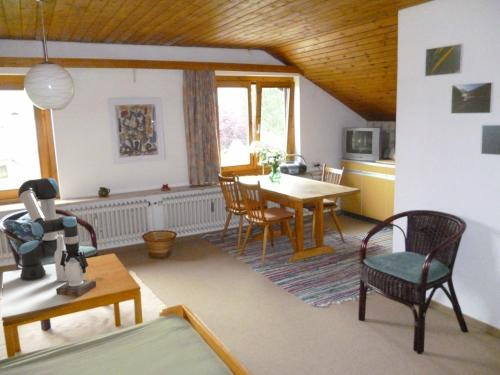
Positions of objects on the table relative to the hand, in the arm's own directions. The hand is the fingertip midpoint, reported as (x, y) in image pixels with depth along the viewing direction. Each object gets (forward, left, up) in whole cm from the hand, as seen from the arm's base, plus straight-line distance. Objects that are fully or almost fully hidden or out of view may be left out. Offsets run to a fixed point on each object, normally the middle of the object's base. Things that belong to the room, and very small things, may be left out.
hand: (75, 277), depth 262 cm
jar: (0, 0, -5) cm, 5 cm away
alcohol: (-20, +13, -9) cm, 25 cm away
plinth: (0, 0, -9) cm, 9 cm away
